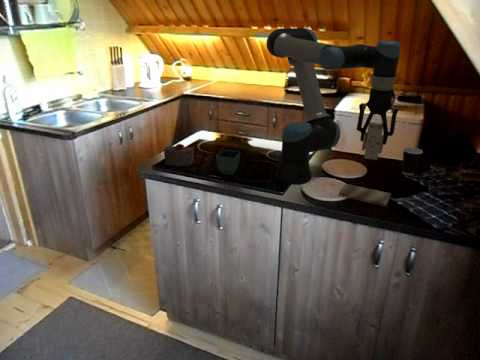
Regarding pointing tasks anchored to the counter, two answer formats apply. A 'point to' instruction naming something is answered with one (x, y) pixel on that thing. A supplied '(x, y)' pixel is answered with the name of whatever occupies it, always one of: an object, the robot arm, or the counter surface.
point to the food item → (179, 155)
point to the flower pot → (228, 161)
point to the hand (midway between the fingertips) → (371, 150)
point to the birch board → (365, 194)
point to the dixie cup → (410, 160)
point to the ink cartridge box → (373, 140)
